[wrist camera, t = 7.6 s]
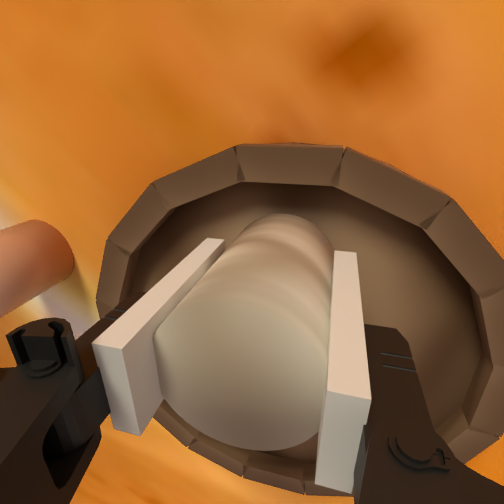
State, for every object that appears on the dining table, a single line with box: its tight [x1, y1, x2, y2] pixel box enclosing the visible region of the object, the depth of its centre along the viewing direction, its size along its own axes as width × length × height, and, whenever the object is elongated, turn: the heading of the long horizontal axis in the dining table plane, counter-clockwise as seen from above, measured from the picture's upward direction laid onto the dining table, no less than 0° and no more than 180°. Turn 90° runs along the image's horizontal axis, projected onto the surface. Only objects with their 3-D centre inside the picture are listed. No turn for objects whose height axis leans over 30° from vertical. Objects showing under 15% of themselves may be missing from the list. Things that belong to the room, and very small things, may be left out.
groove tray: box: [96, 143, 504, 497], centre depth 18 cm, size 23×23×2 cm
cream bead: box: [153, 214, 334, 451], centre depth 11 cm, size 5×5×7 cm
